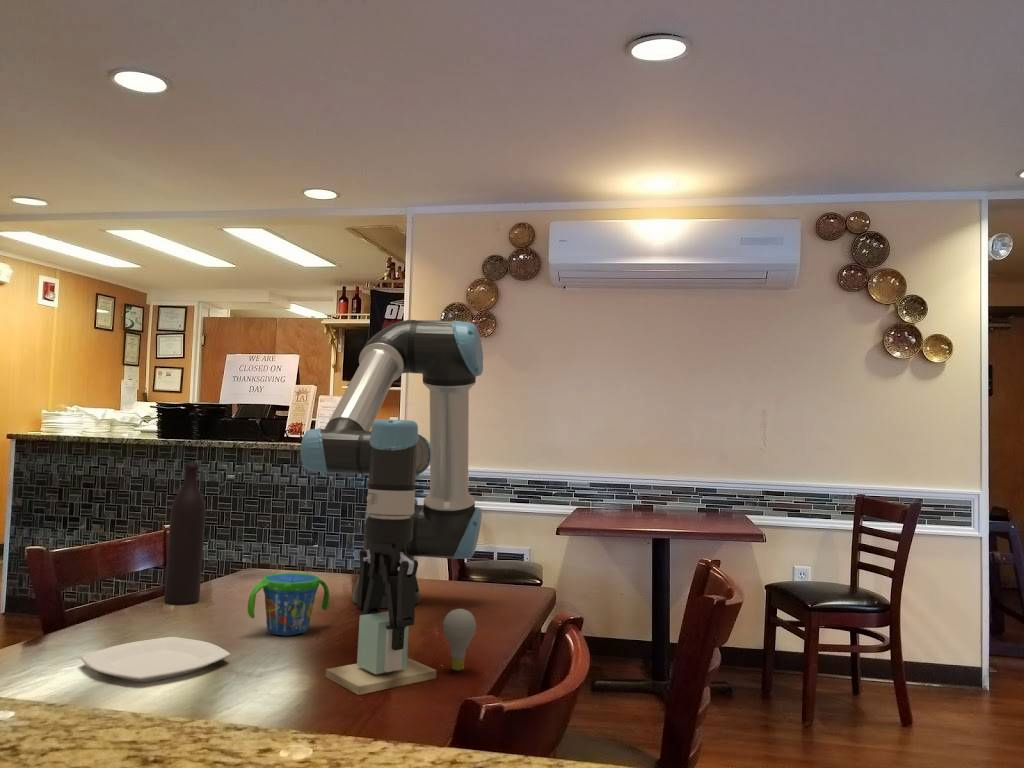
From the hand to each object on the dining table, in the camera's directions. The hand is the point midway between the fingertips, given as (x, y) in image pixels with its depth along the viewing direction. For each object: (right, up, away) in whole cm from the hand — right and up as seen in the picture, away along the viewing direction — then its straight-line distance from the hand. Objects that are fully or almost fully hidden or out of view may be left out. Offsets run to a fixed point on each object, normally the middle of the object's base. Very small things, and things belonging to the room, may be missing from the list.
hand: (381, 664), depth 119 cm
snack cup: (-22, -3, +25) cm, 33 cm away
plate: (-36, -1, +1) cm, 36 cm away
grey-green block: (0, 0, 0) cm, 0 cm away
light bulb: (+12, -3, +5) cm, 13 cm away
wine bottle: (-51, -3, +45) cm, 69 cm away
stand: (0, -2, 0) cm, 2 cm away
